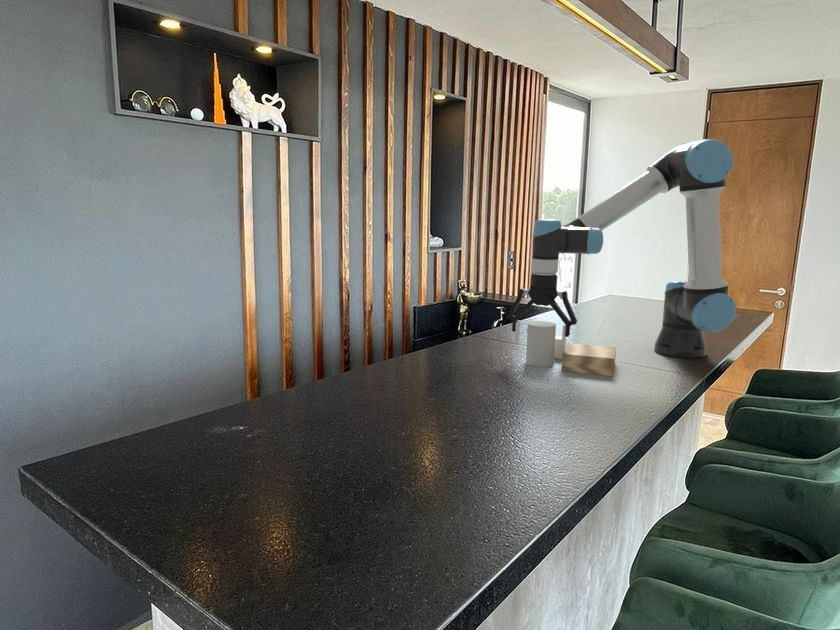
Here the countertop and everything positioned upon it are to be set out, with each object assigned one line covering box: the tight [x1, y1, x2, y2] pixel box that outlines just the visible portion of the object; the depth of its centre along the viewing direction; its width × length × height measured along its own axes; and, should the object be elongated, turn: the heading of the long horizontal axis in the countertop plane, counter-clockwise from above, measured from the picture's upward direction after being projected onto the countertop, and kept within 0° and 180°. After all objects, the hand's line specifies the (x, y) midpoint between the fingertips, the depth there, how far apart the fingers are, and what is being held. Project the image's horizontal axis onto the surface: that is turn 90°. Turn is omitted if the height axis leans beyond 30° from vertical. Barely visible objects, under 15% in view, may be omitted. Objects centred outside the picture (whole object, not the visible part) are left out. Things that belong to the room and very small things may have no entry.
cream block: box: [554, 335, 568, 360], centre depth 181 cm, size 5×5×6 cm
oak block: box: [561, 342, 617, 377], centre depth 169 cm, size 14×14×5 cm
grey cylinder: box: [525, 320, 557, 368], centre depth 172 cm, size 8×8×12 cm
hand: (539, 345), depth 172 cm, fingers open, 13 cm apart
